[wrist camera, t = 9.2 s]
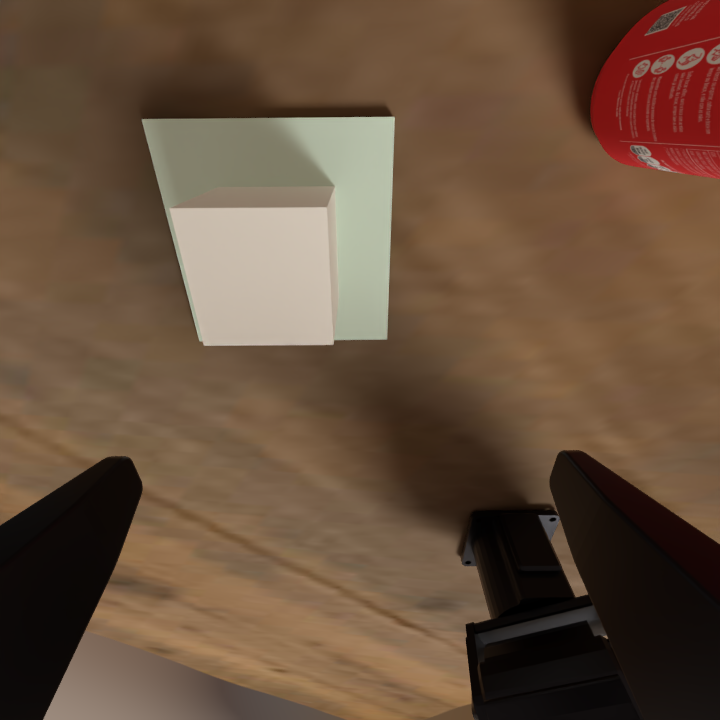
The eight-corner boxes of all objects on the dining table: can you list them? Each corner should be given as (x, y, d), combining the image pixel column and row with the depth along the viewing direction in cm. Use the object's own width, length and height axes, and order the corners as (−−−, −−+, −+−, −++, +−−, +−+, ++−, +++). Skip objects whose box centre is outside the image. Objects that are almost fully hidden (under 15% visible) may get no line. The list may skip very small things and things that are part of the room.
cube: (339, 295, 19) (333, 344, 15) (238, 296, 19) (204, 345, 15) (335, 185, 16) (326, 207, 12) (218, 186, 16) (169, 208, 12)
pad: (386, 335, 21) (387, 339, 20) (202, 336, 21) (199, 341, 20) (393, 117, 15) (394, 116, 15) (147, 119, 15) (141, 119, 15)
